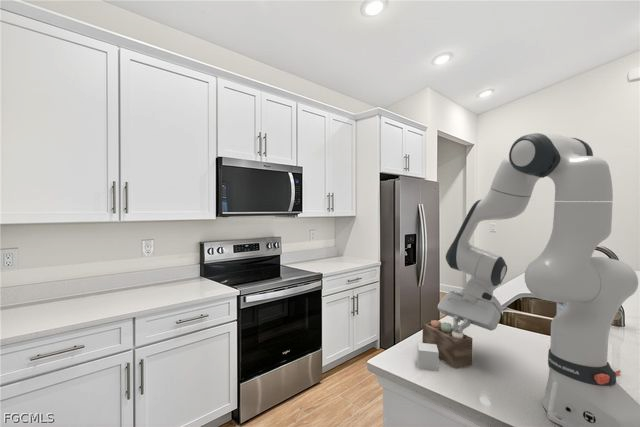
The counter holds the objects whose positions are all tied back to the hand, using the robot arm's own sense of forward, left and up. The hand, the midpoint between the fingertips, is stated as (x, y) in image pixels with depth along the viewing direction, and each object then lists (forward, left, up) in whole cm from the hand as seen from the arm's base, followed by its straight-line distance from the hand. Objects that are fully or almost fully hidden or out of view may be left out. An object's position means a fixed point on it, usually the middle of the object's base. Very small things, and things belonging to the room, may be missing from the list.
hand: (456, 330), depth 104 cm
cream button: (0, -1, -3) cm, 3 cm away
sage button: (+5, -1, -2) cm, 6 cm away
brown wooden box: (+5, -1, -11) cm, 12 cm away
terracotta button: (+10, -1, -3) cm, 11 cm away
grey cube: (+2, +10, -11) cm, 15 cm away
